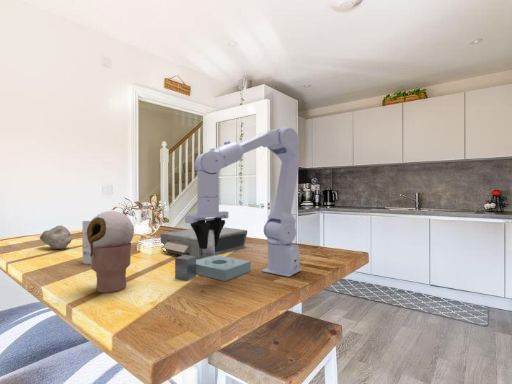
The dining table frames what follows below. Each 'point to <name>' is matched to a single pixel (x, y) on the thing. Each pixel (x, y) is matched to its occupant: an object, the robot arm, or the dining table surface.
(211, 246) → the round bit
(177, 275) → the square bar
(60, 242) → the stone
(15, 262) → the dining table surface
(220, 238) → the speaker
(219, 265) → the socket block
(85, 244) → the ink box
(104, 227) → the ice cream cone
